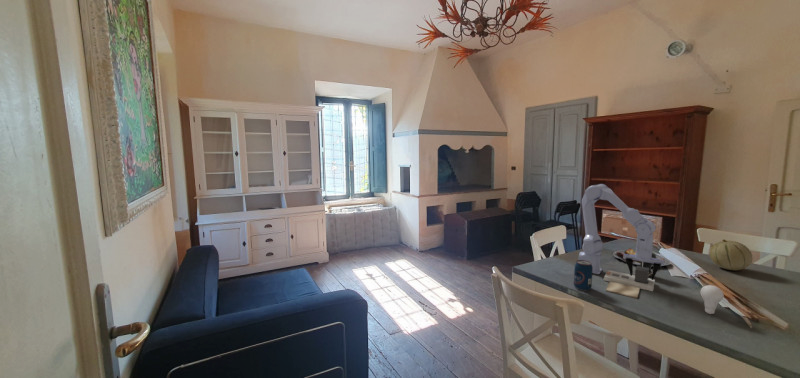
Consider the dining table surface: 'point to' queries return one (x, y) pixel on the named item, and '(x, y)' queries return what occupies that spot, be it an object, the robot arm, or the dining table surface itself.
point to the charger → (641, 274)
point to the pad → (623, 289)
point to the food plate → (620, 254)
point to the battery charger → (648, 265)
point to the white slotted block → (628, 280)
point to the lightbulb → (711, 297)
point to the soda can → (583, 275)
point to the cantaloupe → (731, 255)
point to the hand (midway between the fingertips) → (641, 277)
